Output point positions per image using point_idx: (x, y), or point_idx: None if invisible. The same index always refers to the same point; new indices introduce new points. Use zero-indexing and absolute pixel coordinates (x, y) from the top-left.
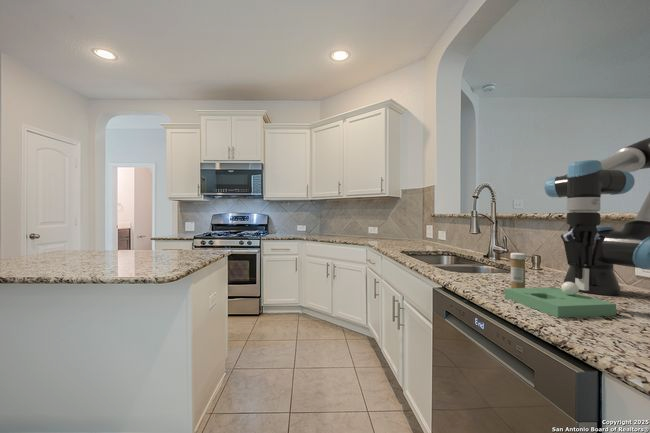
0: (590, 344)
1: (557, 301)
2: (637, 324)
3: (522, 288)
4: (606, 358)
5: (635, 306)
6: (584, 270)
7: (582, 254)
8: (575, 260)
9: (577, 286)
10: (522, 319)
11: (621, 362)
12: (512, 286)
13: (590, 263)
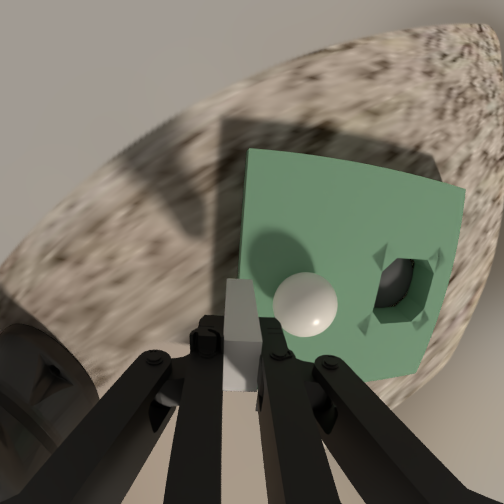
0: (487, 80)
1: (429, 227)
2: (285, 76)
3: (369, 377)
4: (495, 55)
5: (63, 224)
6: (261, 336)
7: (302, 431)
8: (358, 383)
9: (300, 287)
10: (499, 202)
11: (488, 42)
12: None
13: (200, 369)
